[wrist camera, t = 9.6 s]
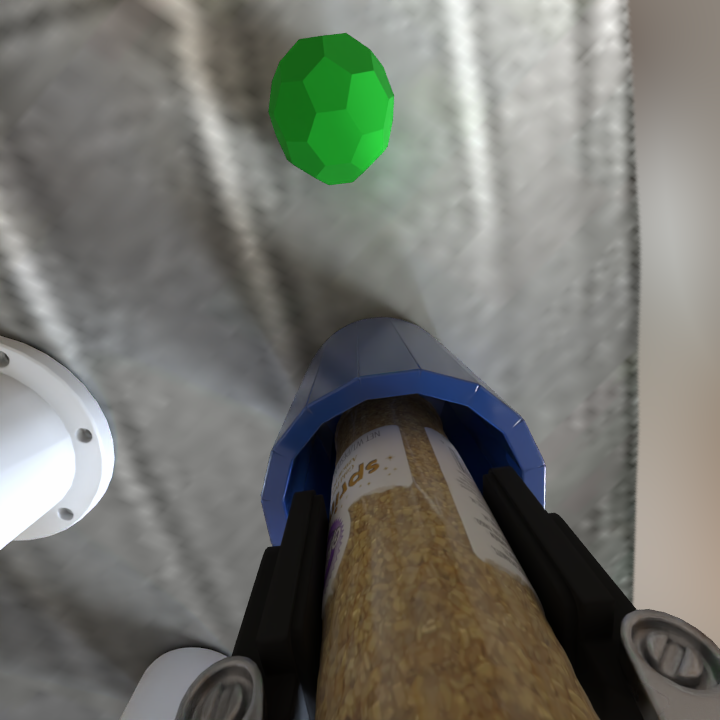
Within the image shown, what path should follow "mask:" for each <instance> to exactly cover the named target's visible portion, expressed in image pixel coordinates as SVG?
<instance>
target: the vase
mask: <svg viewBox="0 0 720 720" xmlns="http://www.w3.org/2000/svg"><path fill="white" fill-rule="evenodd" d="M409 394H418V395H419V396H421V397H423V398H424V399H425V400H426V401H428V402H429V403H430V404H431V405H432V406H433V408H434V409H435V410H436V412H437V414H438V415H439V417H440V419H441V421H442V424H443V430H444V433H445V434H446V436H447V438H448V440H449V441H450V442H451V444H452V445H453V446H454V447H455V449H456V450H457V452H458V453H459V455H460V457H461V459H462V460H463V462H464V464H465V466H466V468H467V469H468V471H469V473H470V474H471V476H472V478H473V480H474V482H475V483H476V485H477V487H478V489H479V491H480V492H481V494H482V496H483V475H484V474H488V471H489V469H490V468H496V467H504V466H511V467H512V468H513V469H514V470H515V471H516V473H517V474H518V475H519V476H520V478H521V479H522V480H523V482H524V483H525V484H526V485H527V487H528V488H529V489H530V491H531V492H532V493H533V494H534V496H535V497H536V498H537V500H538V501H539V502H540V503H541V505H542V506H543V507H544V509H545V484H546V465H545V462H544V460H543V458H542V455H541V453H540V451H539V449H538V447H537V445H536V443H535V441H534V439H533V437H532V435H531V433H530V431H529V429H528V427H527V425H526V423H525V421H524V419H523V418H522V417H521V416H520V415H519V414H518V413H517V412H516V411H515V410H514V409H513V408H512V407H511V406H509V405H508V404H507V403H506V402H505V401H504V400H503V399H502V398H501V397H500V396H498V395H497V394H496V393H495V392H494V391H493V390H492V389H491V388H490V387H489V386H487V385H486V384H485V383H484V382H483V381H482V380H481V379H480V378H479V377H478V376H477V375H475V374H474V373H473V372H472V371H471V370H470V369H469V368H468V367H467V366H466V365H464V364H463V363H462V362H461V361H460V360H459V359H458V358H457V357H456V356H455V355H453V354H452V353H451V352H450V351H449V350H448V349H447V348H446V347H445V346H444V345H443V344H441V343H440V342H439V341H438V340H436V339H435V338H434V337H432V336H431V335H430V334H429V333H428V332H426V331H425V330H424V329H422V328H421V327H419V326H417V325H415V324H413V323H410V322H407V321H404V320H401V319H396V318H390V317H374V318H368V319H363V320H359V321H356V322H353V323H351V324H349V325H347V326H345V327H343V328H341V329H340V330H338V331H337V332H335V333H334V334H333V335H332V336H331V337H329V338H328V339H327V340H326V341H325V343H324V344H323V345H322V346H321V347H320V349H319V350H318V352H317V353H316V355H315V357H314V358H313V359H312V361H311V363H310V365H309V367H308V369H307V371H306V374H305V376H304V378H303V380H302V383H301V385H300V387H299V389H298V392H297V394H296V396H295V398H294V401H293V403H292V405H291V407H290V410H289V412H288V414H287V416H286V419H285V421H284V423H283V425H282V428H281V430H280V432H279V434H278V437H277V439H276V441H275V443H274V446H273V448H272V450H271V453H270V457H269V462H268V466H267V471H266V475H265V479H264V484H263V488H262V493H261V503H262V507H263V512H264V516H265V520H266V524H267V528H268V532H269V536H270V541H271V544H272V546H280V545H281V541H282V538H283V534H284V530H285V526H286V522H287V518H288V515H289V511H290V507H291V503H292V499H293V496H294V493H295V492H300V491H308V490H315V491H316V494H317V495H320V494H322V495H323V497H324V502H325V507H326V513H327V518H328V524H329V515H330V504H331V492H332V481H333V475H334V471H335V462H336V449H335V432H336V426H337V423H338V421H339V420H340V417H341V416H342V415H343V413H344V412H345V411H347V410H349V409H351V408H352V407H354V406H356V405H358V404H360V403H362V402H364V401H365V400H369V399H377V398H385V397H393V396H401V395H409Z"/></svg>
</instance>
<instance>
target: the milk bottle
mask: <svg viewBox="0 0 720 720" xmlns="http://www.w3.org/2000/svg"><path fill="white" fill-rule="evenodd" d="M226 657H227V656H225V655H223V654H221V653H219V652H216V651H213V650H210V649H204V648H194V647H188V648H179V649H176V650H172V651H169V652H167V653H165V654H163V655H161V656H160V657H159V658H157V659H156V660H155V661H154V662H153V663H152V664H151V665H150V666H149V667H148V668H147V670H146V671H145V673H144V674H143V676H142V678H141V680H140V682H139V684H138V685H137V687H136V689H135V691H134V693H133V695H132V697H131V699H130V701H129V702H128V704H127V706H126V708H125V710H124V712H123V714H122V716H121V718H120V720H175V717H176V714H177V711H178V708H179V705H180V702H181V700H182V698H183V697H184V695H185V693H186V691H187V690H188V688H189V686H190V685H191V684H192V683H193V682H194V680H195V679H196V678H197V677H198V676H199V675H200V674H201V673H202V672H203V671H204V670H206V669H207V668H208V667H209V666H211V665H212V664H213V663H215V662H217V661H219V660H222V659H224V658H226Z"/></svg>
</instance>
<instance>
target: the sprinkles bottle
mask: <svg viewBox="0 0 720 720" xmlns="http://www.w3.org/2000/svg"><path fill="white" fill-rule="evenodd" d="M335 449H336V462H335V471H334V475H333V481H332V492H331V504H330V515H329V528H328V538H327V550H326V561H325V575H324V587H323V598H322V615H321V618H322V642H321V650H320V667H319V674H318V680H317V692H316V712H315V720H600V719H599V717H598V716H597V714H596V712H595V711H594V709H593V707H592V705H591V702H590V700H589V699H588V697H587V695H586V693H585V692H584V690H583V688H582V686H581V685H580V683H579V681H578V679H577V678H576V675H575V673H574V670H573V668H572V665H571V663H570V661H569V659H568V657H567V655H566V653H565V651H564V649H563V648H562V646H561V644H560V643H559V641H558V640H557V638H556V636H555V634H554V632H553V630H552V628H551V626H550V624H549V623H548V621H547V619H546V617H545V612H544V610H543V607H542V604H541V602H540V600H539V598H538V596H537V594H536V592H535V590H534V588H533V587H532V585H531V583H530V581H529V579H528V578H527V576H526V574H525V572H524V570H523V569H522V567H521V565H520V563H519V561H518V559H517V558H516V556H515V554H514V552H513V550H512V549H511V547H510V545H509V543H508V541H507V540H506V538H505V536H504V534H503V532H502V530H501V528H500V527H499V525H498V523H497V521H496V519H495V517H494V516H493V514H492V512H491V510H490V508H489V506H488V505H487V503H486V501H485V499H484V498H483V496H482V494H481V492H480V491H479V489H478V487H477V485H476V483H475V482H474V480H473V478H472V476H471V474H470V473H469V471H468V469H467V468H466V466H465V464H464V462H463V460H462V459H461V457H460V455H459V453H458V452H457V450H456V449H455V447H454V446H453V445H452V444H451V442H450V441H449V440H448V438H447V436H446V434H445V433H444V430H443V424H442V421H441V419H440V417H439V415H438V414H437V412H436V410H435V409H434V408H433V406H432V405H431V404H430V403H429V402H428V401H426V400H425V399H424V398H423V397H421V396H419V395H418V394H409V395H401V396H393V397H385V398H377V399H369V400H365V401H364V402H362V403H360V404H358V405H356V406H354V407H352V408H351V409H349V410H347V411H345V412H344V413H343V415H342V416H341V417H340V420H339V421H338V423H337V426H336V432H335Z"/></svg>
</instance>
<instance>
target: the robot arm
mask: <svg viewBox="0 0 720 720" xmlns="http://www.w3.org/2000/svg"><path fill="white" fill-rule="evenodd" d="M114 459H115V458H114V446H113V439H112V435H111V432H110V429H109V425H108V422H107V420H106V418H105V416H104V414H103V412H102V410H101V408H100V406H99V404H98V403H97V401H96V400H95V399H94V397H93V396H92V395H91V393H90V392H89V391H88V389H87V388H86V387H85V385H84V384H83V383H82V382H81V381H80V380H78V379H77V378H76V377H75V376H74V375H73V374H72V373H71V372H70V371H69V370H68V369H67V368H66V367H64V366H63V365H61V364H60V363H58V362H57V361H56V360H54V359H53V358H51V357H50V356H48V355H47V354H45V353H43V352H41V351H39V350H37V349H35V348H33V347H31V346H29V345H27V344H25V343H22V342H19V341H16V340H12V339H9V338H6V337H3V336H0V550H1V549H2V548H3V547H4V546H6V545H7V544H8V543H9V542H11V541H16V540H33V539H38V538H43V537H48V536H51V535H54V534H56V533H58V532H61V531H63V530H66V529H67V528H69V527H70V526H72V525H73V524H75V523H76V522H78V521H79V520H81V519H82V518H83V517H84V516H85V515H86V514H87V513H88V512H89V511H90V510H91V509H92V508H93V507H94V506H95V505H96V504H97V503H98V502H99V500H100V499H101V498H102V496H103V495H104V493H105V492H106V490H107V488H108V485H109V483H110V480H111V477H112V473H113V466H114ZM483 498H484V499H485V501H486V503H487V505H488V506H489V508H490V510H491V512H492V514H493V516H494V517H495V519H496V521H497V523H498V525H499V527H500V528H501V530H502V532H503V534H504V536H505V538H506V540H507V541H508V543H509V545H510V547H511V549H512V550H513V552H514V554H515V556H516V558H517V559H518V561H519V563H520V565H521V567H522V569H523V570H524V572H525V574H526V576H527V578H528V579H529V581H530V583H531V585H532V587H533V588H534V590H535V592H536V594H537V596H538V598H539V600H540V602H541V604H542V607H543V610H544V612H545V617H546V619H547V621H548V623H549V624H550V626H551V628H552V630H553V632H554V634H555V636H556V638H557V640H558V641H559V643H560V644H561V646H562V648H563V649H564V651H565V653H566V655H567V657H568V659H569V661H570V663H571V665H572V668H573V670H574V673H575V675H576V678H577V679H578V681H579V683H580V685H581V686H582V688H583V690H584V692H585V693H586V695H587V697H588V699H589V700H590V702H591V705H592V707H593V709H594V711H595V712H596V714H597V716H598V717H599V719H600V720H720V649H719V648H718V647H717V645H716V644H715V643H714V642H713V641H712V640H711V639H709V638H708V637H707V636H706V635H704V634H703V633H702V632H701V631H699V630H698V629H697V628H695V627H693V626H692V625H690V624H688V623H686V622H685V621H683V620H682V619H680V618H677V617H674V616H672V615H670V614H667V613H664V612H659V611H655V610H650V609H645V610H636V608H635V607H634V606H633V605H632V603H631V602H630V601H629V600H628V598H627V597H626V596H625V595H624V594H623V592H622V591H621V590H620V589H619V587H618V586H617V585H616V584H615V583H614V581H613V580H612V579H611V578H610V576H609V575H608V574H607V573H606V572H605V570H604V569H603V568H602V567H601V565H600V564H599V563H598V562H597V560H596V559H595V558H594V557H593V556H592V554H591V553H590V552H589V551H588V549H587V548H586V547H585V546H584V545H583V543H582V542H581V541H580V540H579V538H578V537H577V536H576V535H575V534H574V532H573V531H572V530H571V529H570V527H569V526H568V525H567V524H566V522H565V521H564V520H563V519H562V518H561V517H560V516H559V515H558V514H556V513H548V512H547V511H546V510H545V509H544V507H543V506H542V505H541V503H540V502H539V501H538V500H537V498H536V497H535V496H534V494H533V493H532V492H531V491H530V489H529V488H528V487H527V485H526V484H525V483H524V482H523V480H522V479H521V478H520V476H519V475H518V474H517V473H516V471H515V470H514V469H513V468H512V467H511V466H504V467H496V468H490V469H489V471H488V474H484V475H483ZM328 528H329V524H328V518H327V513H326V507H325V502H324V497H323V495H322V494H320V495H317V494H316V491H315V490H308V491H300V492H295V493H294V496H293V499H292V503H291V507H290V511H289V515H288V518H287V522H286V526H285V530H284V534H283V538H282V541H281V545H280V546H273V547H267V549H266V550H265V552H264V554H263V557H262V560H261V564H260V567H259V570H258V573H257V576H256V580H255V583H254V586H253V589H252V592H251V596H250V599H249V602H248V605H247V608H246V612H245V615H244V618H243V621H242V624H241V628H240V631H239V634H238V637H237V640H236V644H235V647H234V650H233V653H232V656H231V657H226V658H224V659H222V660H219V661H217V662H215V663H213V664H212V665H211V666H209V667H208V668H207V669H206V670H204V671H203V672H202V673H201V674H200V675H199V676H198V677H197V678H196V679H195V680H194V682H193V683H192V684H191V685H190V686H189V688H188V690H187V691H186V693H185V695H184V697H183V698H182V700H181V702H180V705H179V708H178V711H177V714H176V717H175V720H315V712H316V692H317V680H318V674H319V667H320V650H321V642H322V618H321V615H322V598H323V587H324V575H325V561H326V550H327V538H328Z"/></svg>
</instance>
